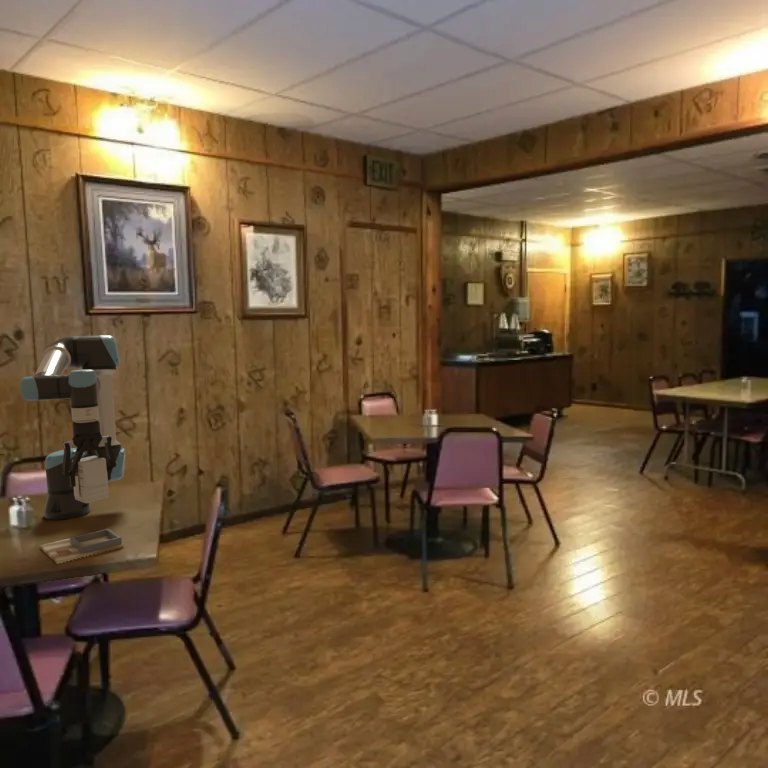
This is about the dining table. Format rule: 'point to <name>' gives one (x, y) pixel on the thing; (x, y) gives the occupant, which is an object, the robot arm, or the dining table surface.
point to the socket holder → (99, 545)
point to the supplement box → (92, 479)
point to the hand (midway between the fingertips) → (91, 493)
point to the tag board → (72, 549)
